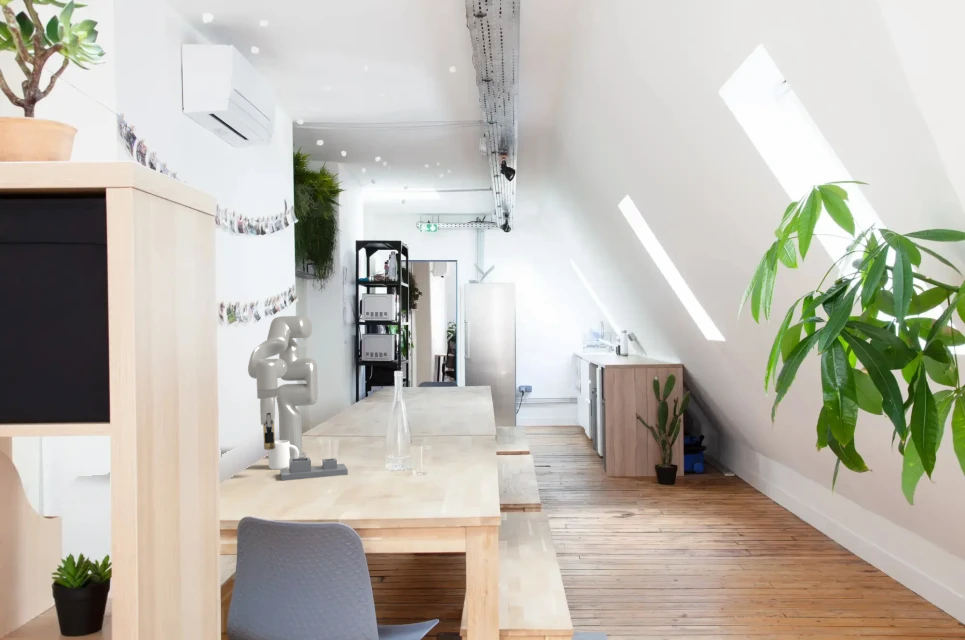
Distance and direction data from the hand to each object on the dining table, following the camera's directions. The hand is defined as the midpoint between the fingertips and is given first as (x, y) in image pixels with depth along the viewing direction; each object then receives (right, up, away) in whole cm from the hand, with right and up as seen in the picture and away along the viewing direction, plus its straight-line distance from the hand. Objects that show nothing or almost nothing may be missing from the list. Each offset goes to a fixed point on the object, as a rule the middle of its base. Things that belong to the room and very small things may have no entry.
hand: (269, 441), depth 275 cm
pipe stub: (0, -3, 0) cm, 3 cm away
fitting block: (+17, -13, +1) cm, 21 cm away
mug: (+1, -14, +17) cm, 22 cm away
